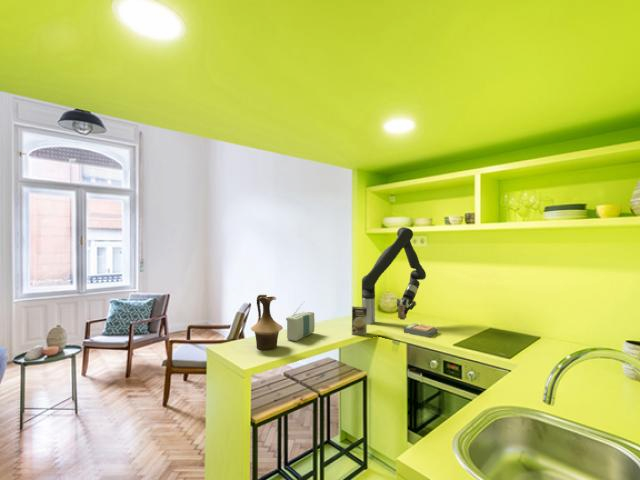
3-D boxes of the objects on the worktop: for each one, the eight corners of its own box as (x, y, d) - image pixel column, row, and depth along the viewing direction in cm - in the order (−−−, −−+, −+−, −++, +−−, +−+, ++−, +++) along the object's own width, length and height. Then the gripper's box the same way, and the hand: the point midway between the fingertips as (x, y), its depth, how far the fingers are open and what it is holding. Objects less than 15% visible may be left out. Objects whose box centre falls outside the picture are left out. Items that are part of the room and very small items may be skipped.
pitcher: (243, 347, 170) (243, 294, 170) (267, 340, 183) (267, 291, 183) (265, 354, 159) (265, 298, 159) (289, 346, 172) (289, 294, 172)
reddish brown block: (397, 319, 211) (398, 305, 211) (400, 318, 214) (401, 304, 214) (403, 320, 209) (403, 306, 209) (406, 319, 212) (406, 305, 212)
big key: (412, 330, 197) (412, 327, 197) (420, 327, 205) (420, 324, 205) (426, 333, 191) (426, 330, 191) (434, 330, 199) (434, 326, 199)
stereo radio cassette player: (297, 342, 179) (297, 306, 180) (284, 340, 183) (285, 305, 184) (315, 333, 198) (315, 301, 198) (303, 331, 202) (303, 300, 202)
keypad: (403, 332, 200) (403, 326, 200) (413, 328, 209) (413, 322, 209) (428, 337, 189) (428, 331, 189) (437, 333, 198) (437, 326, 198)
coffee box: (351, 334, 194) (351, 308, 195) (351, 332, 201) (351, 306, 201) (366, 335, 193) (366, 308, 194) (366, 332, 200) (366, 306, 200)
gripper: (399, 288, 223) (390, 308, 214) (418, 290, 213) (409, 311, 204) (402, 295, 227) (393, 314, 217) (421, 297, 217) (413, 318, 208)
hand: (401, 313), depth 211 cm, fingers closed on reddish brown block, 4 cm apart
